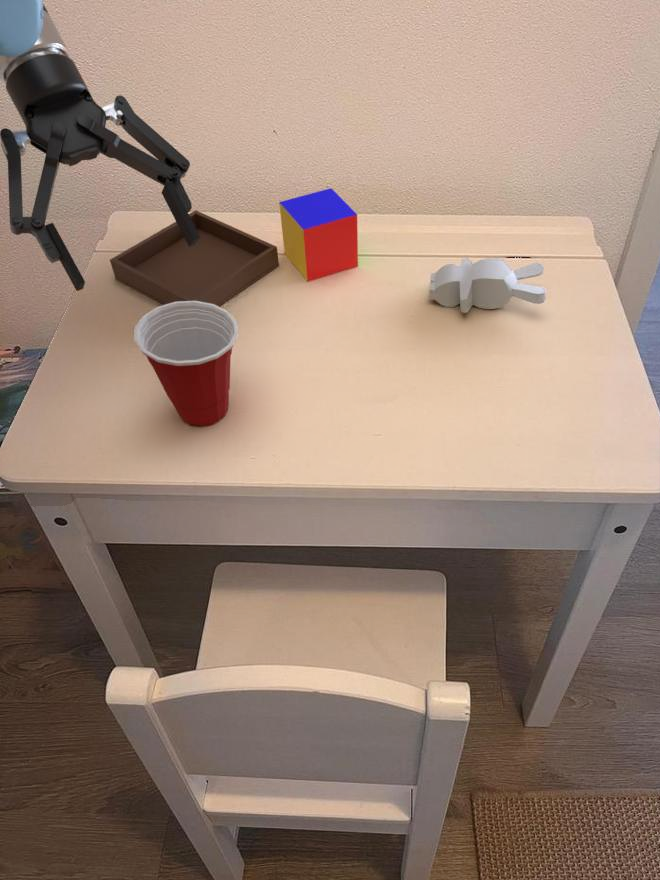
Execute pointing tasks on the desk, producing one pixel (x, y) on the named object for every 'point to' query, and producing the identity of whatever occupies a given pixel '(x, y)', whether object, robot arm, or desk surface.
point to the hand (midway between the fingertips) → (139, 264)
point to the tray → (195, 263)
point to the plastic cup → (190, 356)
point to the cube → (319, 234)
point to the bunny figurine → (484, 284)
